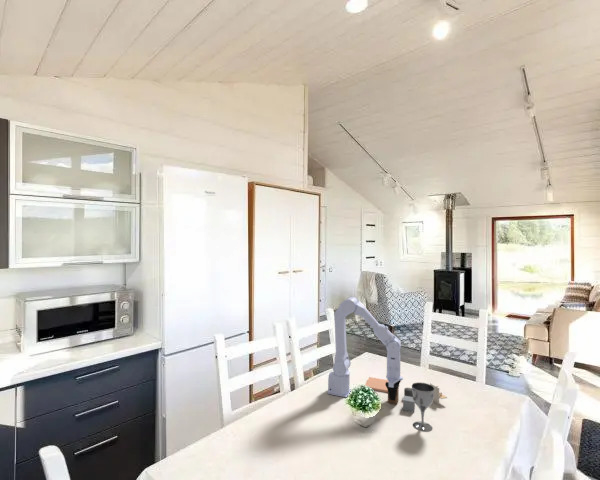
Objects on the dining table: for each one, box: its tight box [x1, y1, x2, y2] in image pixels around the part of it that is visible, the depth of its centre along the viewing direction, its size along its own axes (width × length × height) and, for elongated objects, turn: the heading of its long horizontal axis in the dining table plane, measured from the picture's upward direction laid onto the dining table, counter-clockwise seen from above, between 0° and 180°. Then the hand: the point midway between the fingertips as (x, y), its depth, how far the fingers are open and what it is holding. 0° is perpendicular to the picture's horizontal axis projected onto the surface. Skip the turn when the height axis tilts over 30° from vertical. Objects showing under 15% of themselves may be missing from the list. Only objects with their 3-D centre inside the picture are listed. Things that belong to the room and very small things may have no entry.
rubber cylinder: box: [403, 387, 413, 397], centre depth 153 cm, size 4×4×4 cm
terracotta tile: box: [364, 376, 388, 394], centre depth 166 cm, size 13×12×1 cm
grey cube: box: [402, 396, 416, 413], centre depth 144 cm, size 4×4×4 cm
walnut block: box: [387, 386, 400, 405], centre depth 150 cm, size 4×4×6 cm
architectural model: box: [429, 383, 448, 405], centre depth 150 cm, size 3×7×7 cm, turn 20°
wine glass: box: [411, 382, 434, 433], centre depth 130 cm, size 8×8×15 cm
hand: (393, 397), depth 150 cm, fingers closed on walnut block, 4 cm apart
